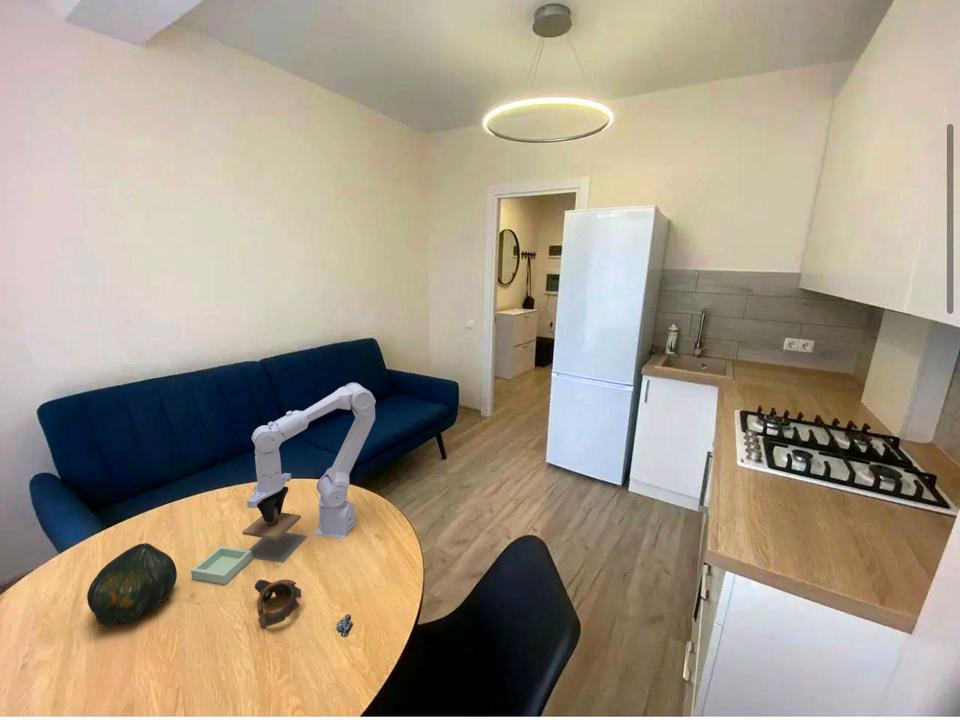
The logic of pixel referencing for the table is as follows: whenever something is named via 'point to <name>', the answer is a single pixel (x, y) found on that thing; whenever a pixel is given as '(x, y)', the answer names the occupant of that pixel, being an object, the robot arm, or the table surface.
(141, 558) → the squash
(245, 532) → the lid
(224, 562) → the dish
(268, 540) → the mat
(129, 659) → the table surface
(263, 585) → the pottery mug
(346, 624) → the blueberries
